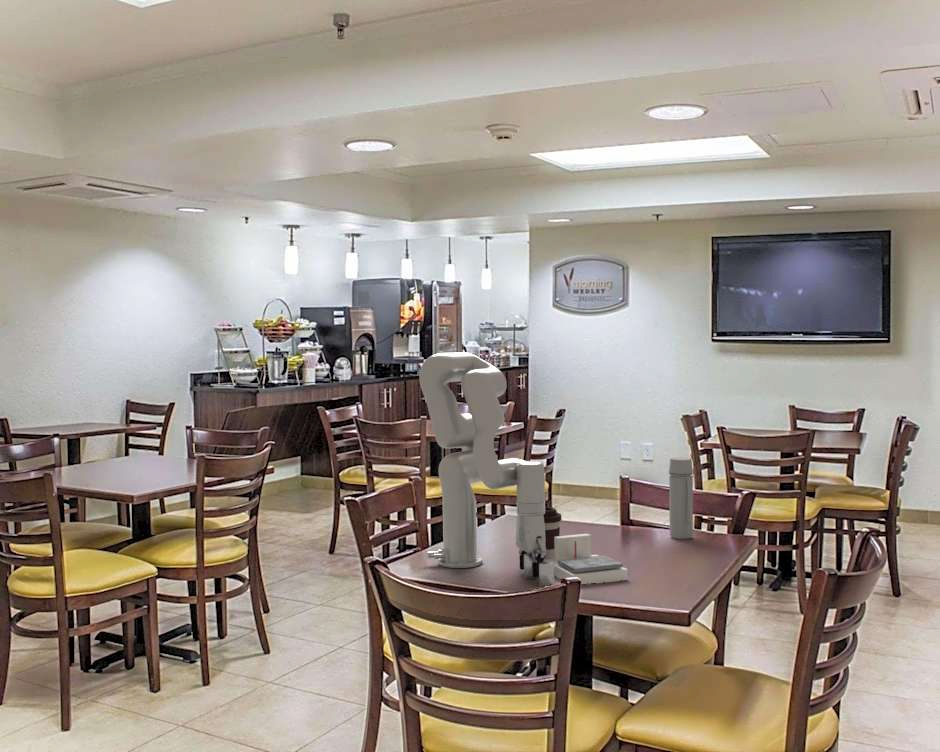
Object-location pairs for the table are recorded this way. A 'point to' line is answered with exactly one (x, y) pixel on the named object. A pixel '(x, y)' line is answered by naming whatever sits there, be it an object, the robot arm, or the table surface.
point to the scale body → (577, 549)
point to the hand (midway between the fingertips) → (531, 572)
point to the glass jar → (528, 566)
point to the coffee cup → (551, 530)
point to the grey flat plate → (589, 563)
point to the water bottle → (681, 498)
